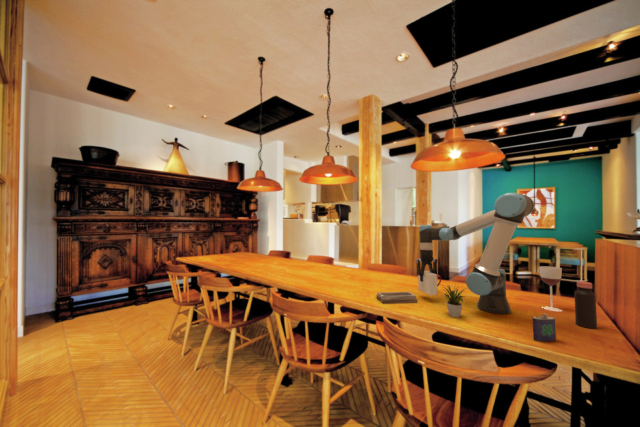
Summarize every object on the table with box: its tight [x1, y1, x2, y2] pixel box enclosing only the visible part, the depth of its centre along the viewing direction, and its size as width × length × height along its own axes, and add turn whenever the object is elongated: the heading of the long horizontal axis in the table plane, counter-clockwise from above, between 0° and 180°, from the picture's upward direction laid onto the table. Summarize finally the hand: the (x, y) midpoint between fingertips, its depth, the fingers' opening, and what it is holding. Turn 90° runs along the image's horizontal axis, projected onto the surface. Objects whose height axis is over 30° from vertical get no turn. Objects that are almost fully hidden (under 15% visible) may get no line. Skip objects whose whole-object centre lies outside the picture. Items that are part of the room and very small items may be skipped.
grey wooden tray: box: [376, 291, 418, 305], centre depth 152 cm, size 12×21×4 cm, turn 96°
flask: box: [531, 312, 557, 343], centre depth 100 cm, size 9×3×11 cm, turn 95°
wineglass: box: [538, 265, 563, 313], centre depth 139 cm, size 9×10×23 cm
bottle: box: [573, 281, 598, 330], centre depth 115 cm, size 7×7×20 cm
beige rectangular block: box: [417, 270, 438, 296], centre depth 155 cm, size 13×5×12 cm, turn 6°
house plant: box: [439, 283, 468, 318], centre depth 128 cm, size 14×14×16 cm
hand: (427, 286), depth 155 cm, fingers closed on beige rectangular block, 5 cm apart
